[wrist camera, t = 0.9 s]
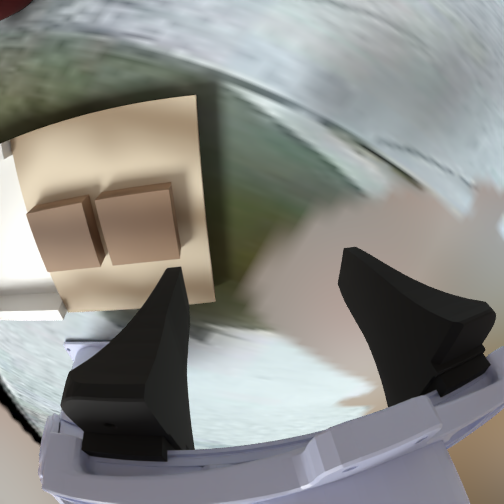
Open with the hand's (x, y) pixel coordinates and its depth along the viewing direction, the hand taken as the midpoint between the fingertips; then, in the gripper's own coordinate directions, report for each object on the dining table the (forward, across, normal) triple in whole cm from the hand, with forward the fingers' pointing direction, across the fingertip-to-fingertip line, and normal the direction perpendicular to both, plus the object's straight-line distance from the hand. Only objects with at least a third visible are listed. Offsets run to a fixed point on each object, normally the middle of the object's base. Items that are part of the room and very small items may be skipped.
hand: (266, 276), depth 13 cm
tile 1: (+8, +7, 0) cm, 11 cm away
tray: (+10, +23, 0) cm, 25 cm away
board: (+10, +10, 0) cm, 14 cm away
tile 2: (+8, +13, 0) cm, 16 cm away
